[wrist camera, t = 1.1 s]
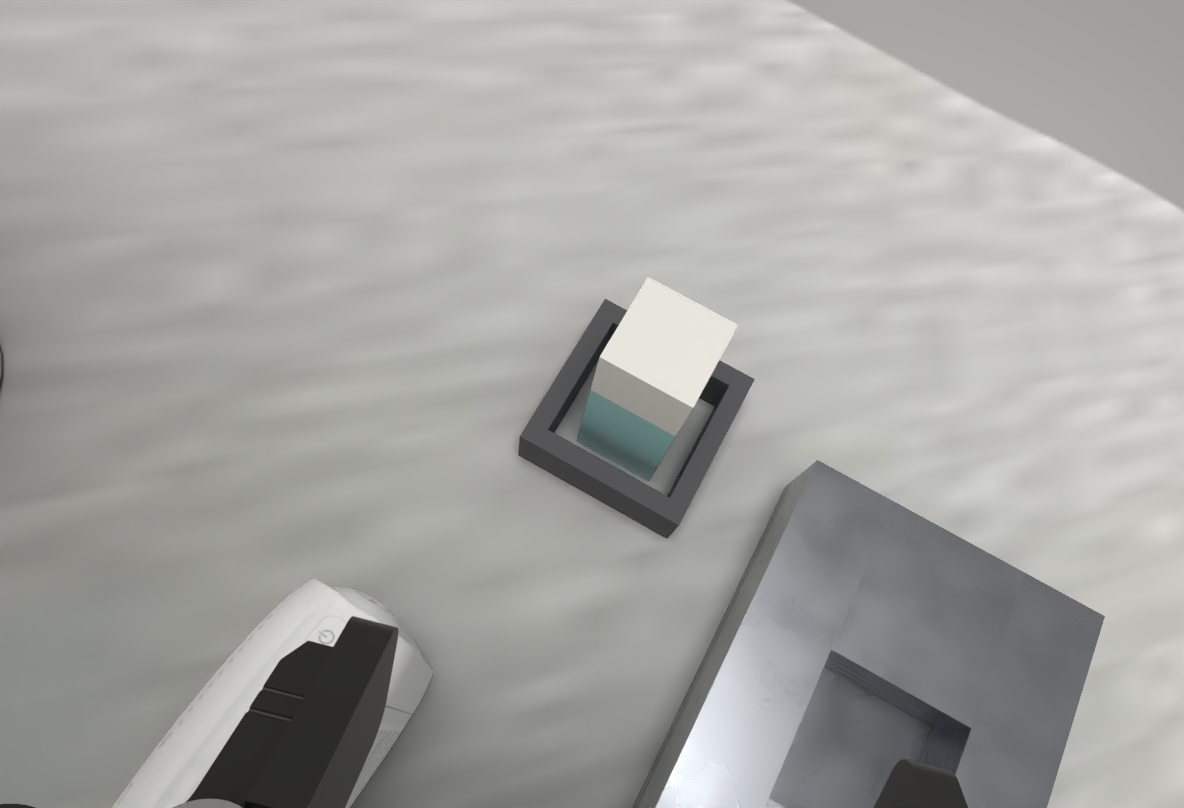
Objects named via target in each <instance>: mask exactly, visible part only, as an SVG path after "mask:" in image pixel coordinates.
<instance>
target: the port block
mask: <svg viewBox="0 0 1184 808" xmlns="http://www.w3.org/2000/svg"><path fill="white" fill-rule="evenodd" d="M1104 617H1105V616H1103V615H1101V614H1099V613H1098V612H1096V611H1094V610H1092V609H1090V608H1088V607H1087V606H1085V605H1083V604H1081V603H1079V602H1077V601H1076V600H1074V599H1072V598H1070V597H1068V596H1066V595H1065V594H1063V593H1061V592H1059V591H1057V590H1055V589H1053V588H1052V587H1050V586H1048V585H1046V584H1044V583H1042V582H1041V581H1039V580H1037V579H1035V578H1033V577H1031V576H1030V575H1028V574H1026V573H1024V572H1022V571H1020V570H1019V569H1017V568H1015V567H1013V566H1011V565H1009V564H1008V563H1006V562H1004V561H1002V560H1000V559H998V558H996V557H995V556H993V555H991V554H989V553H987V552H985V551H984V550H982V549H980V548H978V547H976V546H974V545H973V544H971V543H969V542H967V541H965V540H963V539H962V538H960V537H958V536H956V535H954V534H952V533H950V532H949V531H947V530H945V529H943V528H941V527H939V526H938V525H936V524H934V523H932V522H930V521H928V520H927V519H925V518H923V517H921V516H919V515H917V514H916V513H914V512H912V511H910V510H908V509H906V508H905V507H903V506H901V505H899V504H897V503H895V502H893V501H892V500H890V499H888V498H886V497H884V496H882V495H881V494H879V493H877V492H875V491H873V490H871V489H870V488H868V487H866V486H864V485H862V484H860V483H859V482H857V481H855V480H853V479H851V478H849V477H848V476H846V475H844V474H842V473H840V472H838V471H836V470H835V469H833V468H831V467H829V466H827V465H825V464H824V463H822V462H820V461H818V460H817V461H816V462H815V463H814V464H812V465H811V466H810V467H809V468H808V469H806V470H805V471H804V472H803V473H802V474H800V475H799V476H798V477H797V478H796V479H794V480H793V481H792V482H791V483H790V484H788V485H787V486H786V487H785V489H784V491H783V493H782V495H781V497H780V500H779V502H778V504H777V506H776V508H775V510H774V512H773V514H772V516H771V518H770V521H769V523H768V525H767V527H766V529H765V531H764V533H763V535H762V537H761V539H760V542H759V544H758V546H757V548H756V550H755V552H754V554H753V556H752V558H751V560H750V563H749V565H748V567H747V569H746V571H745V573H744V575H743V577H742V579H741V581H740V584H739V586H738V588H737V590H736V592H735V594H734V596H733V598H732V600H731V602H730V605H729V607H728V609H727V611H726V613H725V615H724V617H723V619H722V621H721V623H720V626H719V628H718V630H717V632H716V634H715V636H714V638H713V640H712V642H711V644H710V647H709V649H708V651H707V653H706V655H705V657H704V659H703V661H702V663H701V665H700V668H699V670H698V672H697V674H696V676H695V678H694V680H693V682H692V684H691V686H690V688H689V691H688V693H687V695H686V697H685V699H684V701H683V703H682V705H681V707H680V709H679V712H678V714H677V716H676V718H675V720H674V722H673V724H672V726H671V728H670V730H669V733H668V735H667V737H666V739H665V741H664V743H663V745H662V747H661V749H660V751H659V754H658V756H657V758H656V760H655V762H654V764H653V766H652V768H651V770H650V772H649V775H648V777H647V779H646V781H645V783H644V785H643V787H642V789H641V791H640V793H639V796H638V798H637V800H636V802H635V804H634V806H633V808H873V807H874V805H875V803H876V801H877V799H878V798H879V796H880V794H881V792H882V790H883V788H884V786H885V784H886V782H887V780H888V778H889V776H890V774H891V772H892V770H893V768H894V767H895V765H896V764H897V762H899V761H900V760H902V759H906V760H910V761H914V762H918V763H921V764H925V765H929V766H933V767H937V768H941V769H945V770H949V771H951V772H953V773H954V774H955V776H956V777H957V779H958V781H959V784H960V787H961V790H962V792H963V795H964V798H965V800H966V803H967V806H968V808H1047V805H1048V802H1049V798H1050V795H1051V792H1052V788H1053V785H1054V782H1055V779H1056V775H1057V772H1058V769H1059V765H1060V762H1061V759H1062V756H1063V752H1064V749H1065V746H1066V742H1067V739H1068V736H1069V732H1070V729H1071V726H1072V723H1073V719H1074V716H1075V713H1076V709H1077V706H1078V703H1079V699H1080V696H1081V693H1082V690H1083V686H1084V683H1085V680H1086V676H1087V673H1088V670H1089V667H1090V663H1091V660H1092V657H1093V653H1094V650H1095V647H1096V643H1097V640H1098V637H1099V634H1100V630H1101V627H1102V624H1103V620H1104Z"/></svg>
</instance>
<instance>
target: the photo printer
mask: <svg viewBox="0 0 1184 808" xmlns="http://www.w3.org/2000/svg"><path fill="white" fill-rule="evenodd" d="M352 616H355V617H359V618H363V619H367V620H370V621H374V622H378V623H382V624H386V625H390V626H394V627H398V630H399V633H398V640H397V646H396V651H395V657H394V663H393V668H392V674H391V679H390V685H389V691H388V696H387V701H386V706H385V710H384V714H383V717H382V721H381V724H380V727H379V730H378V733H377V736H376V738H375V741H374V743H373V745H372V748H371V750H370V752H369V755H368V757H367V759H366V761H365V764H364V766H363V768H362V770H361V773H360V775H359V777H358V780H357V782H356V784H355V786H354V789H353V791H352V793H351V795H350V798H349V800H348V802H347V805H346V807H345V808H350V807H351V805H352V804H353V802H354V801H355V800H356V798H357V797H358V795H359V794H360V792H361V791H362V789H363V788H364V786H365V785H366V784H367V782H368V781H369V779H370V778H371V776H372V775H373V773H374V772H375V771H376V769H377V768H378V766H379V765H380V763H381V762H382V760H383V759H384V757H385V756H386V755H387V753H388V752H389V750H390V748H391V747H392V745H393V744H394V742H395V741H396V739H397V738H398V736H399V735H400V733H401V732H402V730H403V729H404V727H405V725H406V724H407V722H408V721H409V719H410V717H411V716H412V714H413V713H414V712H415V710H416V708H417V707H418V705H419V703H420V701H421V699H422V698H423V696H424V694H425V692H426V690H427V688H428V685H429V683H430V681H431V678H432V676H433V673H434V671H433V669H432V668H431V667H430V666H429V665H428V664H427V662H426V661H425V660H424V658H423V656H422V653H421V651H420V650H419V648H418V646H417V645H416V643H415V642H414V641H413V640H412V638H411V637H410V636H409V634H408V633H407V632H406V631H405V629H404V628H403V627H402V626H401V625H400V623H399V622H398V621H397V620H396V618H395V617H394V616H393V615H392V614H391V613H390V612H389V610H388V609H387V608H386V607H385V606H384V605H382V604H381V603H380V602H379V601H377V600H376V599H374V598H372V597H371V596H369V595H367V594H365V593H363V592H361V591H358V590H355V589H351V588H345V587H329V586H327V585H326V584H324V583H322V582H321V581H319V580H318V579H316V578H311V579H309V580H308V581H307V582H305V583H304V584H302V585H301V586H300V587H298V588H297V589H296V590H295V591H293V592H292V593H291V594H289V595H288V596H287V597H286V598H285V599H284V600H282V601H281V602H280V603H279V604H278V605H277V606H276V607H275V608H274V609H273V610H272V611H271V612H270V613H269V614H268V615H267V616H266V617H265V618H264V619H263V620H262V621H261V622H260V623H259V624H258V625H257V627H256V628H255V629H254V630H253V631H252V632H251V633H250V634H249V635H248V636H247V637H246V638H245V640H244V641H243V642H242V643H241V644H240V645H239V646H238V647H237V649H236V650H235V651H234V652H233V653H232V654H231V655H230V656H229V657H228V659H227V660H226V661H225V662H224V663H223V664H222V666H221V667H220V668H219V669H218V670H217V671H216V673H215V674H214V675H213V676H212V677H211V678H210V680H209V681H208V682H207V683H206V685H205V686H204V687H203V688H202V689H201V691H200V692H199V693H198V694H197V696H196V697H195V698H194V699H193V700H192V702H191V703H190V704H189V705H188V706H187V708H186V709H185V710H184V712H183V713H182V714H181V715H180V717H179V718H178V719H177V720H176V722H175V723H174V724H173V725H172V727H171V728H170V729H169V731H168V732H167V733H166V735H165V736H164V737H163V738H162V740H161V741H160V742H159V744H158V745H157V746H156V747H155V749H154V750H153V752H152V753H151V754H150V755H149V757H148V758H147V759H146V761H145V762H144V763H143V765H142V766H141V767H140V769H139V770H138V771H137V773H136V774H135V776H134V777H133V779H132V780H131V781H130V783H129V784H128V785H127V787H126V788H125V789H124V791H123V792H122V794H121V795H120V796H119V798H118V800H117V801H116V802H115V804H114V805H113V807H112V808H173V807H175V806H177V805H180V804H183V803H185V802H186V801H187V800H188V799H189V798H190V797H191V795H192V794H193V793H194V791H195V790H196V789H197V787H198V786H199V784H200V782H201V781H202V779H203V778H204V776H205V775H206V773H207V772H208V770H209V769H210V767H211V766H212V764H213V762H214V761H215V759H216V758H217V756H218V755H219V753H220V752H221V750H222V749H223V747H224V746H225V744H226V742H227V741H228V739H229V738H230V736H231V735H232V733H233V732H234V730H235V729H236V727H237V725H238V724H239V722H240V721H241V719H242V718H243V716H244V715H245V713H246V712H248V711H249V708H250V705H251V704H252V702H253V701H254V699H255V698H256V696H257V695H258V693H259V692H260V691H262V689H263V686H264V684H265V682H266V681H267V679H268V678H269V676H270V675H271V673H272V672H273V670H274V669H275V667H276V665H277V664H278V662H279V661H280V659H282V658H283V657H285V656H286V655H288V654H289V653H291V652H292V651H294V650H295V649H296V648H298V647H299V646H301V645H302V644H304V643H305V642H307V641H312V642H316V643H320V644H324V645H327V646H331V647H333V646H334V645H335V643H336V641H337V639H338V638H339V636H340V634H341V632H342V631H343V629H344V627H345V626H346V624H347V622H348V621H349V619H350V618H351V617H352Z"/></svg>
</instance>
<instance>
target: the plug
mask: <svg viewBox="0 0 1184 808" xmlns="http://www.w3.org/2000/svg"><path fill="white" fill-rule="evenodd" d="M737 326H738V325H737V324H735V323H733V322H732V321H730V320H728V319H726V318H724V317H722V316H720V315H718V314H717V313H715V312H713V311H711V310H709V309H707V308H705V307H703V306H702V305H700V304H698V303H696V302H694V301H692V300H690V299H688V298H687V297H685V296H683V295H681V294H679V293H677V292H675V291H673V290H672V289H670V288H668V287H666V286H664V285H662V284H660V283H658V282H657V281H655V280H653V279H651V278H649V277H648V278H647V279H646V281H645V283H644V284H643V286H642V287H641V289H640V291H639V292H638V294H637V296H636V297H635V299H634V301H633V302H632V304H631V306H630V307H629V309H628V311H627V312H626V314H625V316H624V317H623V319H622V321H621V322H620V324H619V326H618V327H617V329H616V331H615V332H614V334H613V336H612V337H611V339H610V340H609V342H608V344H607V345H606V347H605V349H604V350H603V352H602V354H601V355H600V357H599V361H598V364H597V368H596V372H595V375H594V379H593V383H592V386H591V390H590V394H589V397H588V401H587V405H586V408H585V412H584V415H583V419H582V423H581V426H580V430H579V434H578V437H577V441H578V442H580V443H581V444H583V445H585V446H587V447H588V448H590V449H592V450H594V451H596V452H597V453H599V454H601V455H603V456H605V457H606V458H608V459H610V460H612V461H614V462H615V463H617V464H619V465H621V466H623V467H624V468H626V469H628V470H630V471H632V472H633V473H635V474H637V475H639V476H641V477H642V478H644V479H646V480H648V481H649V480H650V478H651V476H652V475H653V473H654V471H655V470H656V468H657V466H658V465H659V463H660V462H661V460H662V458H663V457H664V455H665V453H666V452H667V450H668V449H669V447H670V445H671V444H672V442H673V440H674V439H675V437H676V435H677V434H678V432H679V431H680V429H681V427H682V426H683V424H684V422H685V421H686V419H687V417H688V416H689V414H690V413H691V411H692V409H693V408H694V406H695V404H696V402H697V400H698V398H699V397H700V395H701V393H702V391H703V389H704V387H705V385H706V384H707V382H708V380H709V378H710V376H711V374H712V373H713V371H714V369H715V367H716V365H717V363H718V361H719V360H720V358H721V356H722V354H723V352H724V350H725V349H726V347H727V345H728V343H729V341H730V339H731V337H732V336H733V334H734V332H735V330H736V328H737Z"/></svg>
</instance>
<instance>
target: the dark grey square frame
mask: <svg viewBox="0 0 1184 808" xmlns="http://www.w3.org/2000/svg"><path fill="white" fill-rule="evenodd" d="M626 312H627V310H625V309H623V308H621V307H619V306H618V305H616V304H614V303H612V302H610V301H608V300H606V299H605V300H604V302H603V303H602V305H601V306H600V308H599V310H598V311H597V313H596V315H595V316H594V318H593V319H592V321H591V323H590V324H589V326H588V327H587V329H586V331H585V332H584V334H583V335H582V337H581V339H580V340H579V342H578V344H577V345H576V347H575V348H574V350H573V352H572V353H571V355H570V356H569V358H568V360H567V361H566V363H565V365H564V366H563V368H562V369H561V371H560V373H559V374H558V376H557V377H556V379H555V381H554V382H553V384H552V386H551V387H550V389H549V390H548V392H547V394H546V395H545V397H544V398H543V400H542V402H541V403H540V405H539V407H538V408H537V410H536V411H535V413H534V415H533V416H532V418H531V419H530V421H529V423H528V424H527V426H526V428H525V429H524V431H523V432H522V434H521V436H520V443H519V456H521V457H523V458H525V459H527V460H528V461H530V462H532V463H534V464H536V465H537V466H539V467H541V468H543V469H544V470H546V471H548V472H550V473H552V474H553V475H555V476H557V477H559V478H560V479H562V480H564V481H566V482H568V483H569V484H571V485H573V486H575V487H576V488H578V489H580V490H582V491H584V492H585V493H587V494H589V495H591V496H593V497H594V498H596V499H598V500H600V501H601V502H603V503H605V504H607V505H609V506H610V507H612V508H614V509H616V510H617V511H619V512H621V513H623V514H625V515H626V516H628V517H630V518H632V519H633V520H635V521H637V522H639V523H641V524H642V525H644V526H646V527H648V528H650V529H651V530H653V531H655V532H657V533H658V534H660V535H662V536H664V537H666V538H668V537H669V536H670V535H671V534H672V532H673V531H674V530H675V529H676V528H677V527H678V526H679V524H680V522H681V520H682V518H683V516H684V515H685V513H686V511H687V509H688V507H689V505H690V503H691V501H692V499H693V497H694V495H695V493H696V491H697V489H698V488H699V486H700V484H701V482H702V480H703V478H704V476H705V474H706V472H707V470H708V468H709V466H710V464H711V462H712V461H713V459H714V457H715V455H716V453H717V451H718V449H719V447H720V445H721V443H722V441H723V439H724V437H725V435H726V434H727V432H728V430H729V428H730V426H731V424H732V422H733V420H734V418H735V416H736V414H737V412H738V410H739V408H740V406H741V405H742V403H743V401H744V399H745V397H746V395H747V393H748V391H749V389H750V387H751V385H752V383H753V381H754V379H753V378H751V377H749V376H748V375H746V374H744V373H742V372H740V371H738V370H736V369H735V368H733V367H731V366H729V365H727V364H725V363H723V362H722V361H720V360H719V361H718V363H717V365H716V367H715V369H714V371H713V373H712V374H711V376H710V378H709V380H708V382H707V384H706V385H705V387H704V389H703V391H702V393H701V395H700V397H699V398H701V399H703V400H705V401H706V402H708V403H710V404H712V405H714V406H715V408H714V410H713V411H712V413H711V415H710V417H709V419H708V421H707V423H706V425H705V427H704V428H703V430H702V432H701V434H700V436H699V438H698V440H697V442H696V444H695V445H694V447H693V449H692V451H691V453H690V455H689V457H688V459H687V460H686V462H685V464H684V466H683V468H682V470H681V472H680V474H679V476H678V477H677V479H676V481H675V483H674V485H673V487H672V489H671V491H670V492H669V494H668V496H666V495H664V494H662V493H660V492H659V491H657V490H655V489H653V488H651V487H650V486H648V485H646V484H644V483H643V482H641V481H639V480H637V479H635V478H634V477H632V476H630V475H628V474H626V473H625V472H623V471H621V470H619V469H617V468H616V467H614V466H612V465H610V464H608V463H607V462H605V461H603V460H601V459H599V458H598V457H596V456H594V455H592V454H590V453H589V452H587V451H585V450H583V449H581V448H580V447H578V446H576V445H574V444H572V443H571V442H569V441H567V440H565V439H563V438H562V437H560V436H558V435H556V434H555V433H554V432H555V430H556V429H557V427H558V425H559V424H560V422H561V420H562V419H563V417H564V416H565V414H566V412H567V411H568V409H569V407H570V406H571V404H572V402H573V401H574V399H575V397H576V396H577V394H578V392H579V391H580V389H581V387H582V386H583V384H584V382H585V381H586V379H587V377H588V376H589V374H590V372H591V371H592V369H593V367H594V366H595V364H596V363H597V361H598V359H599V357H600V355H601V354H602V352H603V350H604V349H605V347H606V345H607V344H608V342H609V340H610V339H611V337H612V336H613V334H614V332H615V331H616V329H617V327H618V326H619V324H620V322H621V321H622V319H623V317H624V316H625V314H626Z"/></svg>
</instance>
